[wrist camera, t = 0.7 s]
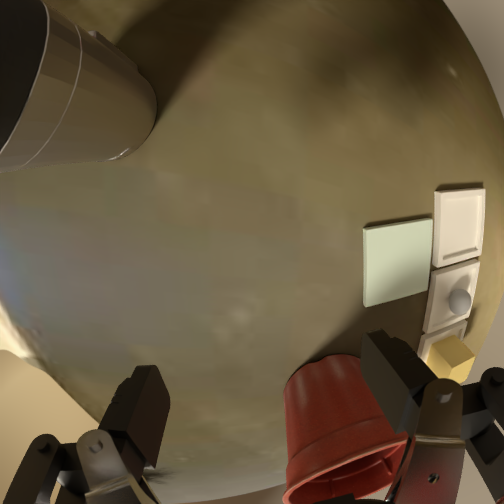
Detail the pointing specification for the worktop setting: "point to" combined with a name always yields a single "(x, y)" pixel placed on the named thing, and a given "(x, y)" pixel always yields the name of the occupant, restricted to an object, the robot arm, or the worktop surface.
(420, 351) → the dish
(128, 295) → the worktop surface
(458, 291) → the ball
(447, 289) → the dish
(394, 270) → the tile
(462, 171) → the worktop surface
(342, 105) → the worktop surface
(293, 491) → the flower pot
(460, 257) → the dish
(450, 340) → the letter block
